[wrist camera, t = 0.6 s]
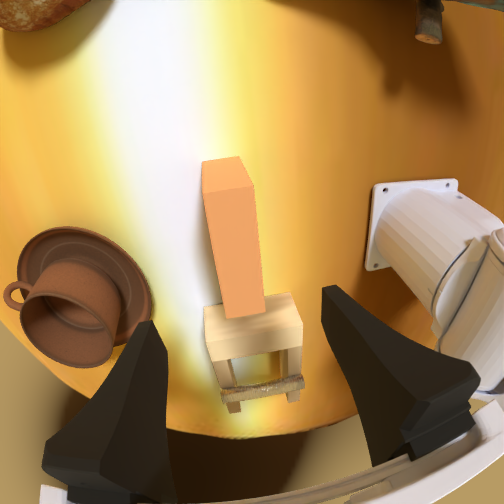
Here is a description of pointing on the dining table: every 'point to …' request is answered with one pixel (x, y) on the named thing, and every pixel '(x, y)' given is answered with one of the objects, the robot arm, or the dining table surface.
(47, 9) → the bread roll
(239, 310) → the orange long block
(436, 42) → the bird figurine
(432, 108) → the dining table surface
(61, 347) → the cup and saucer
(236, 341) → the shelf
